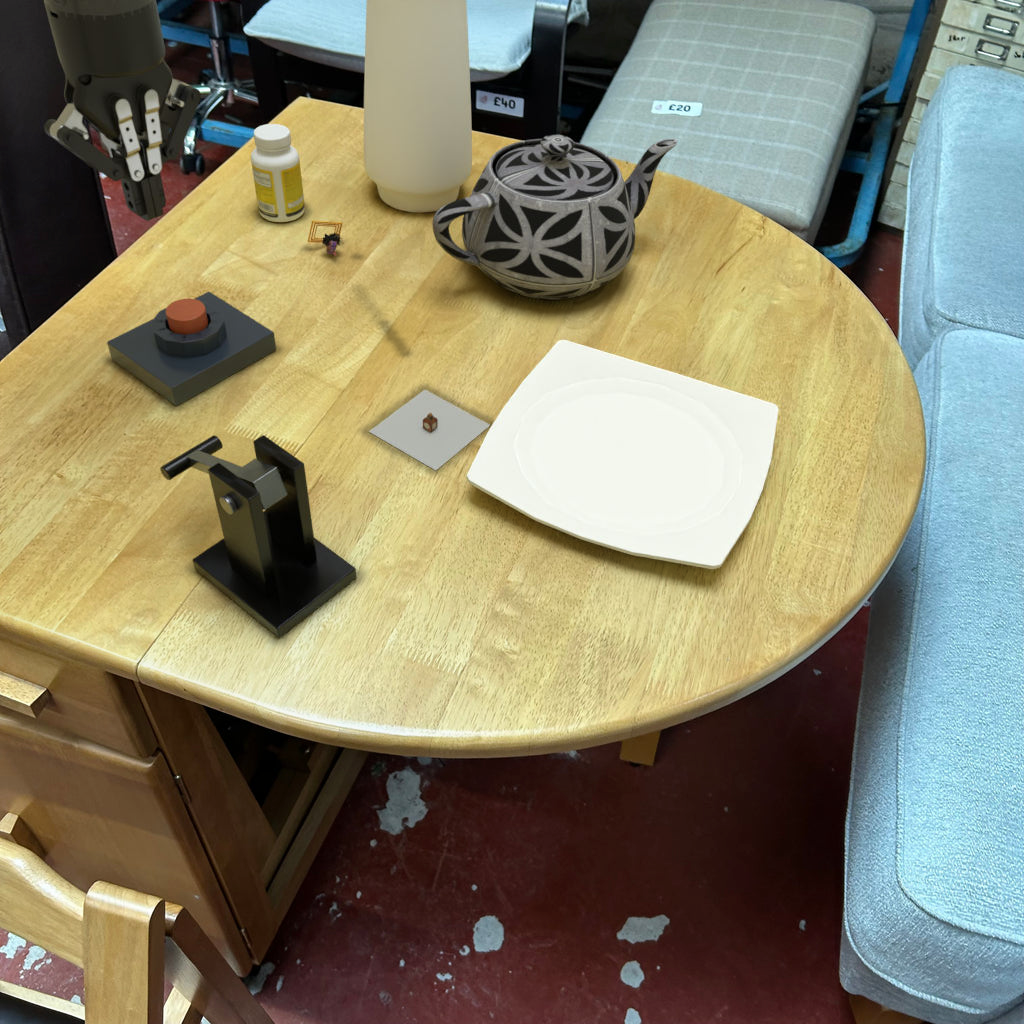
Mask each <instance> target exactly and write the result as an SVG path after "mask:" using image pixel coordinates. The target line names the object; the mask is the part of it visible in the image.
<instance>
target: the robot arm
mask: <svg viewBox="0 0 1024 1024" xmlns="http://www.w3.org/2000/svg"><path fill="white" fill-rule="evenodd" d="M43 4H44V8H45V11H46V14H47V18H48V22H49V23H48V24H49V26H50V30H51V35H52V37H53V41H54V45H55V49H56V52H57V56H58V57H57V58H58V59H59V62H60V65H61V67H62V69H63V72H64V76H65V85H64V92H63V93H64V94H63V96H64V100H65V102H66V105H65V107H64V109H63V110H62V112H61V113H60V114H59V117H57V119H54V118H51V119H47V120H46V122H45V123H44V126H43V130H44V132H45V133H46V134H47V135H48V136H49V137H50V138H52V139H53V140H55V141H56V142H57V143H59V145H61V146H63V147H64V148H65V149H67V150H68V151H69V152H71V153H72V154H73V155H74V156H76V157H77V158H79V160H81V161H83V162H84V163H85V164H86V165H88V166H89V167H90V168H92V169H93V170H94V171H96V172H98V173H101V174H102V175H104V176H106V177H107V178H109V179H110V180H112V181H114V182H120V184H121V188H122V191H123V197H124V200H125V204H126V207H127V209H128V210H129V211H131V212H132V213H134V214H135V215H136V216H138V217H140V218H141V219H142V220H144V221H147V222H149V221H151V220H154V219H157V218H159V217H161V216H163V215H164V209H163V208H165V207H166V203H167V199H166V194H165V190H164V189H165V188H164V185H163V179H162V175H161V172H162V170H163V166H164V164H165V163H166V162H168V161H169V160H171V161H174V160H176V159H177V158H178V157H179V155H180V152H181V150H182V147H183V144H184V142H185V139H186V137H187V134H188V132H189V130H190V127H191V124H192V121H193V119H194V116H195V113H196V111H197V108H198V106H199V104H200V101H201V98H202V94H201V91H200V90H199V89H198V88H196V87H194V86H193V85H190V84H188V83H186V82H185V81H182V80H180V79H178V78H173V73H172V70H171V68H170V67H169V65H168V64H167V62H166V61H165V57H166V47H165V42H164V36H163V31H162V25H161V19H160V14H159V9H158V4H157V0H43ZM83 120H84V121H85V122H86V123H88V124H89V125H90V126H91V127H92V128H94V129H95V130H96V131H97V132H98V133H99V135H100V138H101V141H102V143H103V144H104V145H105V146H106V148H107V151H108V153H109V156H107V155H106V153H104V152H102V151H101V150H100V149H99V148H97V147H96V146H95V145H93V144H92V143H90V142H89V141H88V140H89V138H90V135H89V132H88V129H87V128H86V126H85V125H84V122H83Z"/></svg>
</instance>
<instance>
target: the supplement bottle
mask: <svg viewBox="0 0 1024 1024" xmlns="http://www.w3.org/2000/svg"><path fill="white" fill-rule="evenodd" d="M253 139H254V145H255V148H254V149H253V150H252V151H251V154H250V162H251V163H250V164H251V169H252V170H251V171H252V176H253V184H254V189H255V195H256V203H257V209H258V213H259V215H260V216H261V217H262V218H263V219H265V220H267V221H270V222H273V223H287V222H292V221H295V220H297V219H299V218H301V217H302V216H303V214H305V208H306V207H305V196H304V187H303V178H302V170H301V161H300V155H299V153H298V151H297V149H296V148H295V147H294V146H293V145H292V137H291V130H290V129H289V128H288V126H286V125H283V124H279V123H266V124H263V125H262V124H261V125H259V126H258V127H256V128H255V129H254V130H253Z"/></svg>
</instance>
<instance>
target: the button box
mask: <svg viewBox="0 0 1024 1024" xmlns="http://www.w3.org/2000/svg"><path fill="white" fill-rule="evenodd" d="M194 299H195V300H198V301H200V302H202V303H203V304H204V306H205V309H206V314H207V319H208V325H207V327H206V329H204V330H202V331H200V332H198V333H194V334H187V335H183V334H176V333H173V332H172V331H171V330H170V328H169V324H168V320H167V316H166V308H167V307H165V308H163V309H161V310H159V311H158V312H157V314H156V315H155V317H153V318H152V319H150V320H148V321H146V322H144V323H142V324H140V325H137V326H136V327H134V328H132V329H130V330H128V331H126V332H123V333H122V334H119V335H118V336H116V337H114V338H111V339H110V340H108V341H106V344H107V347H108V350H109V354H110V357H111V360H112V361H113V362H114V363H116V364H117V365H119V366H120V367H121V368H123V369H124V370H126V371H127V372H128V373H130V374H131V375H132V376H134V377H135V378H137V379H138V380H139V381H140V382H142V383H144V384H145V385H147V386H148V387H149V388H151V389H152V390H153V391H155V392H156V393H158V394H159V395H160V396H162V397H163V399H165V400H167V401H168V402H169V403H171V404H172V405H174V406H175V407H178V406H179V405H181V404H183V403H185V402H186V401H188V400H190V399H192V398H193V397H195V396H197V395H199V394H200V393H202V392H204V391H206V390H209V388H212V387H213V386H215V385H216V384H219V383H220V382H222V381H224V380H225V379H227V378H229V377H231V376H233V375H234V374H236V373H238V372H240V371H242V370H244V369H246V368H247V367H249V366H251V365H253V364H254V363H255V362H258V361H259V360H261V359H263V358H265V357H267V356H269V355H270V354H272V353H274V352H275V351H277V344H276V337H275V332H274V331H273V330H271V329H270V328H268V327H267V326H265V325H263V324H261V323H260V322H258V321H257V320H256V319H254V318H252V317H250V316H249V315H247V314H246V313H244V312H242V311H241V310H239V309H237V308H236V307H235V306H234V305H232V304H230V303H229V302H227V301H225V300H224V299H222V298H221V297H219V296H218V295H215V294H214V293H213V292H211V291H207V292H205V293H203V294H201V295H199V296H196V297H195V298H194Z"/></svg>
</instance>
